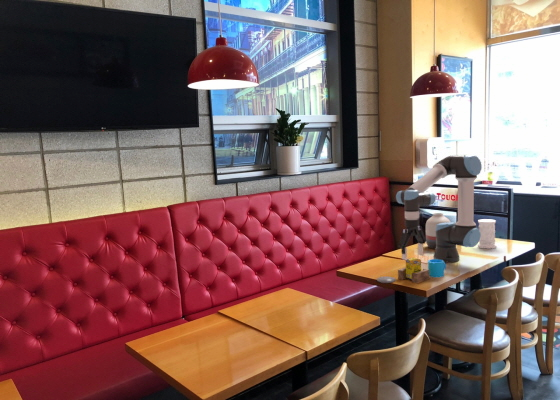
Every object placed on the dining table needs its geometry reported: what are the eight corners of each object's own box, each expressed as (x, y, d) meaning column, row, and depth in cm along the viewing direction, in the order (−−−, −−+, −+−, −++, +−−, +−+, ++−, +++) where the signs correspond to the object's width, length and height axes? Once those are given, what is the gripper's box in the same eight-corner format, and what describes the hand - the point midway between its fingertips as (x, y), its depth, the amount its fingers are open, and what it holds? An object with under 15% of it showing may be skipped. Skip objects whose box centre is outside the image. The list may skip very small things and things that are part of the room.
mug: (437, 278, 240) (437, 263, 239) (425, 275, 247) (424, 261, 246) (451, 273, 246) (451, 259, 245) (439, 271, 253) (438, 257, 252)
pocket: (411, 274, 250) (410, 265, 249) (429, 278, 240) (429, 269, 240) (398, 278, 244) (398, 269, 243) (416, 283, 234) (416, 274, 233)
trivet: (385, 276, 249) (385, 275, 249) (399, 280, 241) (399, 278, 241) (373, 280, 244) (373, 279, 243) (387, 284, 235) (387, 283, 235)
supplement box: (413, 281, 238) (413, 261, 237) (405, 278, 243) (405, 259, 242) (421, 279, 241) (421, 259, 239) (413, 276, 246) (413, 257, 245)
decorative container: (482, 244, 309) (481, 218, 307) (499, 246, 300) (499, 219, 298) (474, 247, 301) (474, 221, 299) (492, 249, 293) (492, 222, 291)
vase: (424, 245, 317) (423, 212, 314) (448, 244, 314) (448, 211, 312) (428, 250, 300) (427, 216, 298) (454, 249, 298) (454, 215, 295)
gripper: (420, 215, 248) (421, 252, 251) (391, 221, 234) (392, 260, 236) (432, 216, 242) (432, 254, 244) (402, 222, 228) (403, 262, 230)
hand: (412, 257), depth 240 cm, fingers open, 13 cm apart
